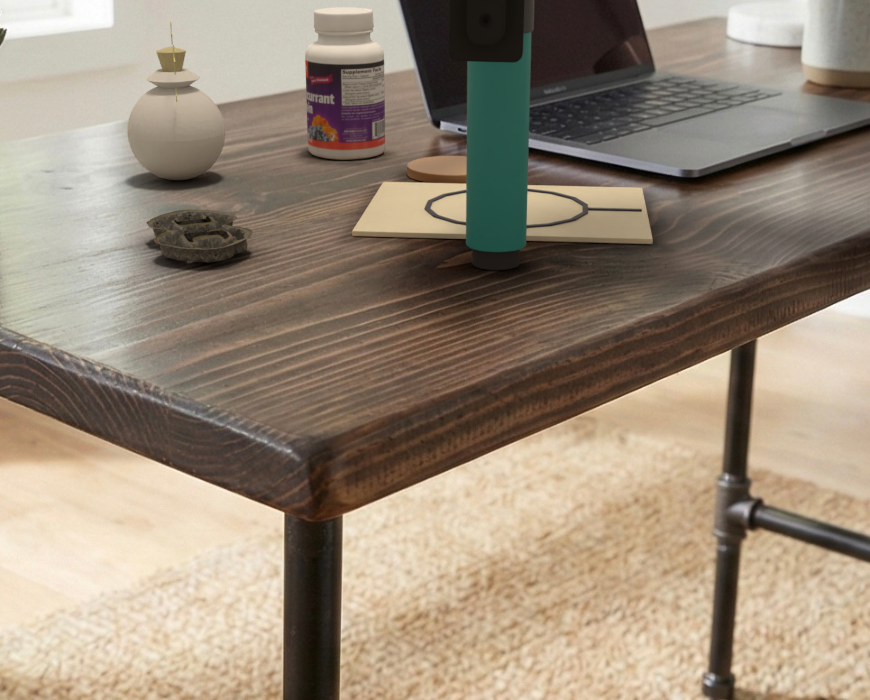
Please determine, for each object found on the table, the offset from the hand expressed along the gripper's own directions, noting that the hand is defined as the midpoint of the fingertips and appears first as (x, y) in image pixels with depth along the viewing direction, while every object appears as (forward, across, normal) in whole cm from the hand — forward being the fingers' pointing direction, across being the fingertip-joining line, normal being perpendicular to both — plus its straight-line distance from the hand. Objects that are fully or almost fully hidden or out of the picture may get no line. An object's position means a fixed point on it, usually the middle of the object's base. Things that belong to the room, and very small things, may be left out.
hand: (492, 47), depth 61 cm
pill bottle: (+11, +27, +12) cm, 31 cm away
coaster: (+11, +21, +4) cm, 24 cm away
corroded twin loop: (+11, +1, +15) cm, 19 cm away
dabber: (+11, 0, 0) cm, 11 cm away
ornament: (+11, +17, +21) cm, 29 cm away
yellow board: (+11, +11, 0) cm, 15 cm away
